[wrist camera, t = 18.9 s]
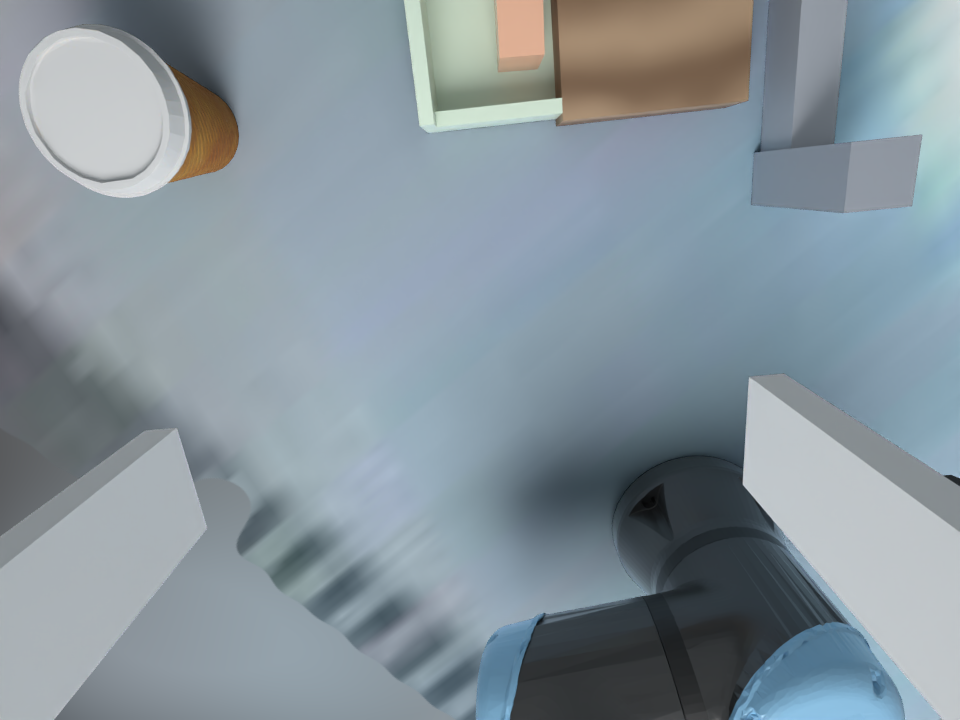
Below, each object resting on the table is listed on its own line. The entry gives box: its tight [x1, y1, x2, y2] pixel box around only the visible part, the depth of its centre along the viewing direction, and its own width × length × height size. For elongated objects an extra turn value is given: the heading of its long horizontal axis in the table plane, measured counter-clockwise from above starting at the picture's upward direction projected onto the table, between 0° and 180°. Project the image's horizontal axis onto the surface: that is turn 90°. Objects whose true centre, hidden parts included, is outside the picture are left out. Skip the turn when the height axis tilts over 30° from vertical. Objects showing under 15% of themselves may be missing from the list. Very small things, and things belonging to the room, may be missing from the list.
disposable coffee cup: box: [19, 24, 239, 198], centre depth 37 cm, size 10×10×12 cm
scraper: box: [751, 0, 922, 213], centre depth 34 cm, size 24×4×12 cm, turn 6°
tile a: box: [494, 0, 545, 73], centre depth 37 cm, size 5×5×3 cm
